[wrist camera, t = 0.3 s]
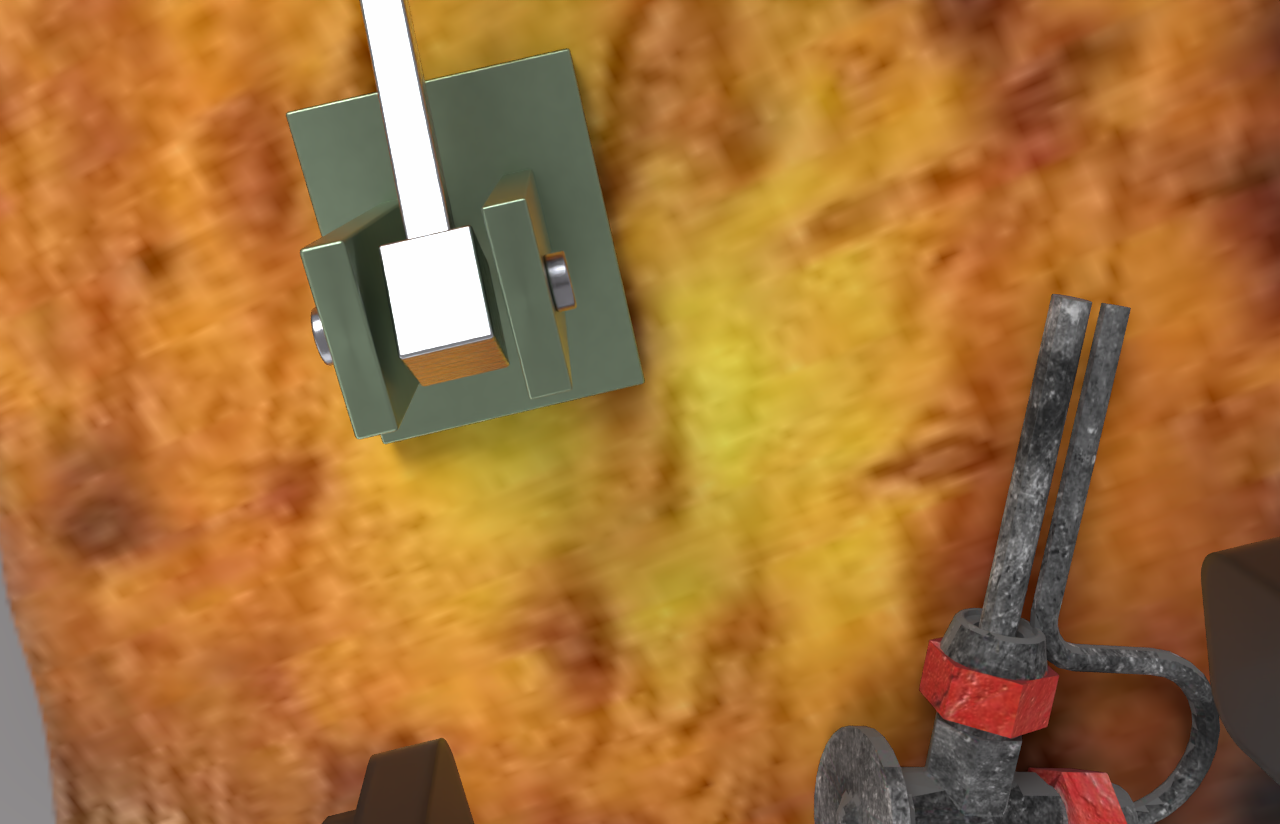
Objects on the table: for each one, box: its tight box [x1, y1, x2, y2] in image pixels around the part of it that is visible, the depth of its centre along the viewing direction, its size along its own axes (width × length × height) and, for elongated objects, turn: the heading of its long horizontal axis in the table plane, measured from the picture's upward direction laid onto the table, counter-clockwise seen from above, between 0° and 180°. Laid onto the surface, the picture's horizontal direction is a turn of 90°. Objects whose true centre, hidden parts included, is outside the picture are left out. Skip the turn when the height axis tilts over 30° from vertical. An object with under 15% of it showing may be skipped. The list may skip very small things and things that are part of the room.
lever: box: [359, 0, 510, 386], centre depth 28 cm, size 14×6×2 cm
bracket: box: [286, 48, 645, 444], centre depth 31 cm, size 11×9×13 cm
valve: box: [814, 294, 1220, 824], centre depth 41 cm, size 6×26×15 cm
